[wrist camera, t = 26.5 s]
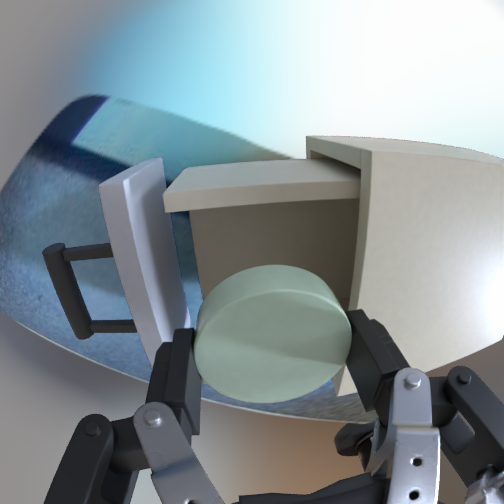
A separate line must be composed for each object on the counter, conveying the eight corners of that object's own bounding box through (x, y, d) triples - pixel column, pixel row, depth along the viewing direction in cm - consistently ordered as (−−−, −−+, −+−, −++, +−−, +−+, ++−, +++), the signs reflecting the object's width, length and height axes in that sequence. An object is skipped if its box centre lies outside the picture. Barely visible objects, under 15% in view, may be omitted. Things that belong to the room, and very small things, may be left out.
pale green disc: (330, 365, 13) (340, 392, 12) (208, 379, 13) (207, 408, 11) (345, 256, 11) (363, 280, 9) (184, 271, 10) (177, 298, 9)
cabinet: (303, 309, 24) (337, 396, 15) (305, 135, 18) (371, 150, 9) (447, 284, 25) (501, 339, 16) (470, 149, 19) (550, 175, 10)
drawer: (112, 324, 22) (85, 391, 15) (69, 175, 16) (3, 207, 10) (354, 303, 23) (392, 365, 16) (368, 146, 17) (437, 165, 11)
